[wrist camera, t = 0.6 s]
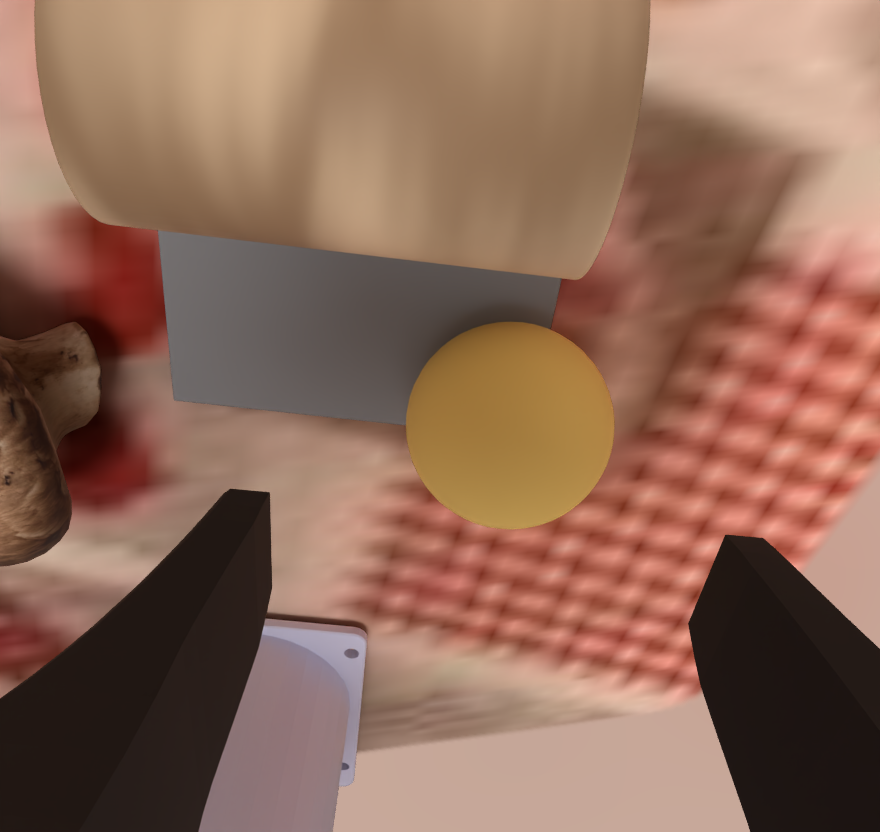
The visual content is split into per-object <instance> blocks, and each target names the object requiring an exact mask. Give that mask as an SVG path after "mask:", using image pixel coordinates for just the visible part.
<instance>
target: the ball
mask: <svg viewBox="0 0 880 832" xmlns="http://www.w3.org/2000/svg"><path fill="white" fill-rule="evenodd" d="M614 423H615V421H614V411H613V406H612V401H611V397H610V394H609V390H608V388H607V386H606V384H605V382H604V379H603V377H602V375H601V373H600V372H599V370H598V369H597V367H596V366H595V364H594V363H593V362H592V361H591V360H590V358H589V357H588V356H587V355H586V354H585V353H584V352H583V351H582V350H581V349H580V348H579V347H578V346H577V345H575V344H574V343H573V342H572V341H570V340H568V339H567V338H565V337H564V336H562V335H560V334H559V333H557V332H554V331H552V330H550V329H548V328H545V327H542V326H538V325H535V324H530V323H524V322H497V323H491V324H486V325H482V326H479V327H476V328H473V329H470V330H468V331H466V332H464V333H461V334H460V335H458V336H456V337H455V338H453V339H451V340H450V341H449V342H447V343H446V344H445V345H444V346H442V347H441V348H440V349H439V350H438V351H437V352H436V353H435V354H434V355H433V356H432V357H431V358H430V359H429V361H428V362H427V363H426V365H425V366H424V368H423V369H422V371H421V373H420V375H419V376H418V378H417V380H416V382H415V384H414V386H413V389H412V392H411V395H410V398H409V403H408V408H407V413H406V436H407V444H408V448H409V452H410V455H411V459H412V462H413V464H414V466H415V469H416V471H417V473H418V475H419V477H420V478H421V480H422V481H423V483H424V485H425V486H426V488H427V489H428V490H429V491H430V492H431V493H432V494H433V495H434V497H435V498H436V499H437V500H438V501H439V502H440V503H441V504H443V505H444V506H445V507H446V508H448V509H449V510H451V511H452V512H454V513H455V514H457V515H458V516H460V517H462V518H464V519H466V520H468V521H470V522H473V523H476V524H479V525H482V526H486V527H491V528H498V529H523V528H529V527H534V526H538V525H542V524H544V523H547V522H550V521H553V520H555V519H557V518H559V517H561V516H563V515H564V514H566V513H567V512H569V511H570V510H572V509H573V508H574V507H575V506H577V505H578V504H579V503H580V502H581V501H582V500H583V499H584V498H585V497H586V496H587V495H588V494H589V493H590V492H591V491H592V489H593V488H594V487H595V485H596V484H597V482H598V481H599V479H600V477H601V475H602V474H603V472H604V470H605V468H606V466H607V463H608V460H609V457H610V454H611V450H612V446H613V441H614Z"/></svg>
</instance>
